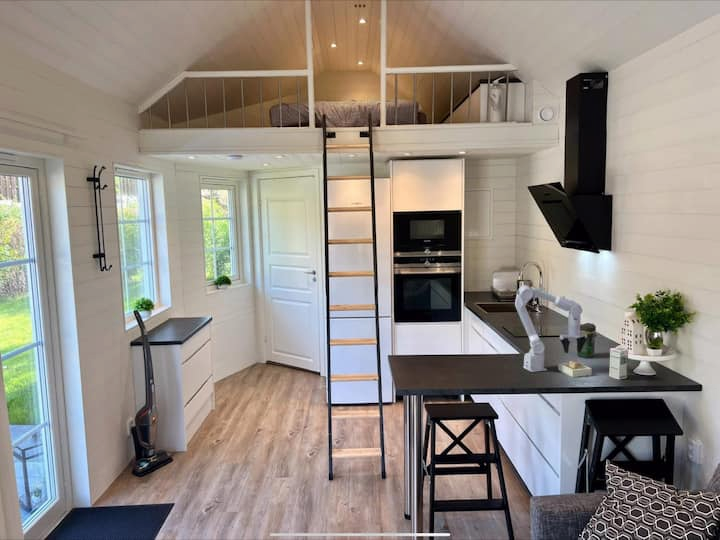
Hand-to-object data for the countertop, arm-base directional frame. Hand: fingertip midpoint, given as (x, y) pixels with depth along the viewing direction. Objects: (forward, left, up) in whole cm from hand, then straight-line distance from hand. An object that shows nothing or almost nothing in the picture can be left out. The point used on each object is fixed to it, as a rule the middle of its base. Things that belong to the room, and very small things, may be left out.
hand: (572, 352), depth 255 cm
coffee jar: (+24, +20, -10) cm, 33 cm away
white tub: (-1, -3, -10) cm, 10 cm away
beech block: (-1, -3, -9) cm, 10 cm away
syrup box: (+15, -14, -10) cm, 23 cm away
